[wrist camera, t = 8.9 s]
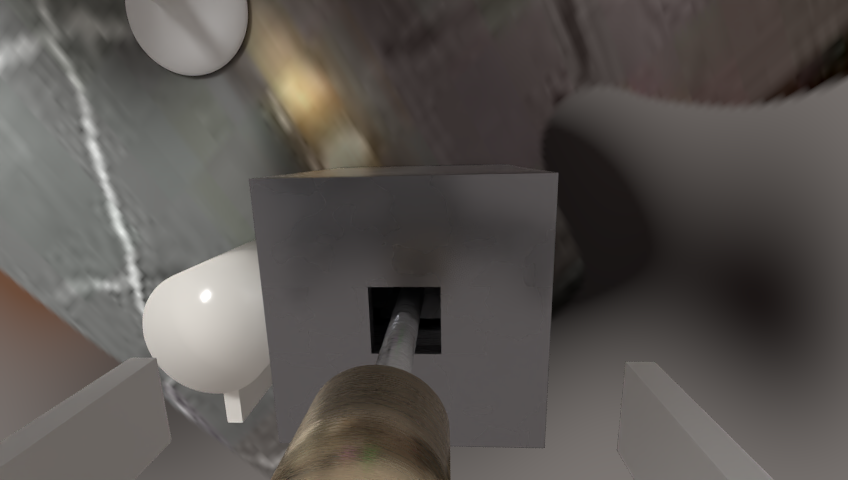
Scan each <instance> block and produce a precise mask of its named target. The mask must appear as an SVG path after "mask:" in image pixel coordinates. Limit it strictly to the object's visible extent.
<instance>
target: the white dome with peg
mask: <svg viewBox="0 0 848 480" xmlns="http://www.w3.org/2000/svg"><path fill="white" fill-rule="evenodd" d="M143 334H144V338H145V342H146V344H147V347H148V349H149V351H150V353H151V355H152V357H153V358H157V364H158V365H159V366H160V367H161V369H162V370H163V371H164V372H165V373H166V374H168V375H169V376H170V377H171V378H173V379H174V380H175V381H177V382H179V383H180V384H182V385H184V386H186V387H188V388H191V389H194V390H197V391H200V392H205V393H215V394H217V393H224V399H225V406H226V413H227V420H228V422H234V423H243V422H244V421H245V419H246V418H247V417H248V415H249V414H250V413H251V411H252V410H253V409H254V407H255V406H256V405H257V403H258V402H259V401H260V399H261V398H262V397H263V396H264V394H265V393H266V392H267V390H268V389H269V388H270V386H271V385H272V375H271V366H270V358H269V349H268V340H267V332H266V323H265V314H264V306H263V297H262V288H261V280H260V271H259V262H258V254H257V245H256V240H253V241H250V242H248V243H246V244H244V245H241V246H239V247H237V248H235V249H232V250H230V251H228V252H225V253H223V254H221V255H219V256H216V257H214V258H212V259H210V260H207V261H205V262H203V263H201V264H198V265H196V266H194V267H192V268H189V269H187V270H185V271H182V272H180V273H178V274H176V275H173V276H171V277H170V278H168V279H166V280H165V281H163V282H162V283H161V284H159V285H158V286H157V287H156V288H155V289H154V291H153V292H152V294H151V295H150V297H149V299H148V301H147V303H146V305H145V309H144V313H143Z"/></svg>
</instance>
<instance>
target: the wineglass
mask: <svg viewBox="0 0 848 480" xmlns="http://www.w3.org/2000/svg"><path fill="white" fill-rule="evenodd" d="M125 7H126V13H127V18H128V21H129V24H130V27H131V30H132V32H133V34H134V36H135V38H136V40H137V41H138V43H139V45H140V46H141V47H142V49H143V50H144V51H145V52H146V53H147V54H148V56H149V57H151V58H152V59H153V60H154V61H155V62H156V63H158V64H159V65H161V66H162V67H164V68H166V69H168V70H170V71H172V72H175V73H178V74H182V75H188V76H199V75H205V74H209V73H212V72H214V71H216V70H218V69H220V68H222V67H223V66H224V65H226V64H227V63H228V62H229V61H230V60H231V59H232V58H233V57H234V56H235V54H236V53H237V51H238V50H239V48H240V46H241V44H242V42H243V40H244V37H245V33H246V29H247V23H248V6H247V0H125Z"/></svg>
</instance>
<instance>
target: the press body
mask: <svg viewBox="0 0 848 480" xmlns="http://www.w3.org/2000/svg"><path fill="white" fill-rule="evenodd" d="M249 184H250V193H251V202H252V210H253V219H254V228H255V236H256V245H257V254H258V262H259V271H260V280H261V288H262V297H263V306H264V314H265V323H266V332H267V340H268V349H269V358H270V366H271V375H272V384H273V392H274V401H275V409H276V418H277V427H278V435H279V443H291V441H292V439H293V437H294V435H295V433H296V432H297V430H298V428H299V426H300V424H301V422H302V420H303V419H304V417H305V415H306V413H307V411H308V409H309V408H310V406H311V404H312V402H313V400H314V398H315V396H316V395H317V393H318V392H319V390H320V389H321V388H322V387H323V386H324V385H325V383H327V382H328V381H329V380H330V379H331V378H333V377H334V376H336V375H337V374H339V373H341V372H343V371H346V370H348V369H351V368H354V367H358V366H364V365H375V364H376V361H377V358H378V355H379V352H380V349H381V346H382V343H383V340H384V337H385V334H386V331H387V328H388V325H389V323H390V320H391V318H373V303H372V287H441V318H420V322H419V328H418V334H417V341H416V347H415V353H414V360H413V366H412V372H411V374H413V375H415V376H416V377H418V378H420V379H421V380H422V381H424V382H425V383H426V384H427V385H428V386H429V387H430V388H431V389H432V390H433V391H434V392H435V393H436V394H437V396H438V397H439V398H440V400H441V402H442V404H443V405H444V408H445V410H446V413H447V416H448V420H449V428H450V446H466V447H514V448H545V431H546V411H547V391H548V371H549V351H550V330H551V311H552V292H553V272H554V252H555V232H556V212H557V191H558V173H556V172H550V171H543V170H537V169H531V168H525V167H519V166H512V165H506V164H493V165H445V166H397V167H349V168H334V169H326V170H317V171H309V172H301V173H293V174H285V175H277V176H268V177H260V178H252V179H249Z"/></svg>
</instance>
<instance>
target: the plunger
mask: <svg viewBox="0 0 848 480" xmlns="http://www.w3.org/2000/svg"><path fill="white" fill-rule="evenodd" d="M372 303H373V318H391V320H390V323H389V325H388V328H387V331H386V334H385V337H384V340H383V343H382V346H381V349H380V352H379V355H378V358H377V361H376V364H375V365H364V366H358V367H354V368H351V369H348V370H346V371H343V372H341V373H339V374H337V375H336V376H334V377H333V378H331V379H330V380H329V381H328V382H327V383H325V385H324V386H323V387H322V388H321V389H320V390H319V392H318V393H317V395H316V396H315V398H314V400H313V402H312V404H311V406H310V408H309V409H308V411H307V413H306V415H305V417H304V419H303V420H302V422H301V424H300V426H299V428H298V430H297V432H296V433H295V435H294V437H293V439H292V441H291V443H290V445H289V446H288V448H287V450H286V452H285V454H284V456H283V458H282V459H281V461H280V463H279V465H278V467H277V469H276V471H275V472H274V474H273V476H272V478H271V480H450V428H449V420H448V416H447V413H446V410H445V408H444V405H443V404H442V402H441V400H440V398H439V397H438V396H437V394H436V393H435V392H434V391H433V390H432V389H431V388H430V387H429V386H428V385H427V384H426V383H425V382H424V381H422V380H421V379H420V378H418V377H416V376H415V375H413V374H411V372H412V366H413V360H414V353H415V347H416V341H417V334H418V328H419V322H420V318H441V287H372Z"/></svg>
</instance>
